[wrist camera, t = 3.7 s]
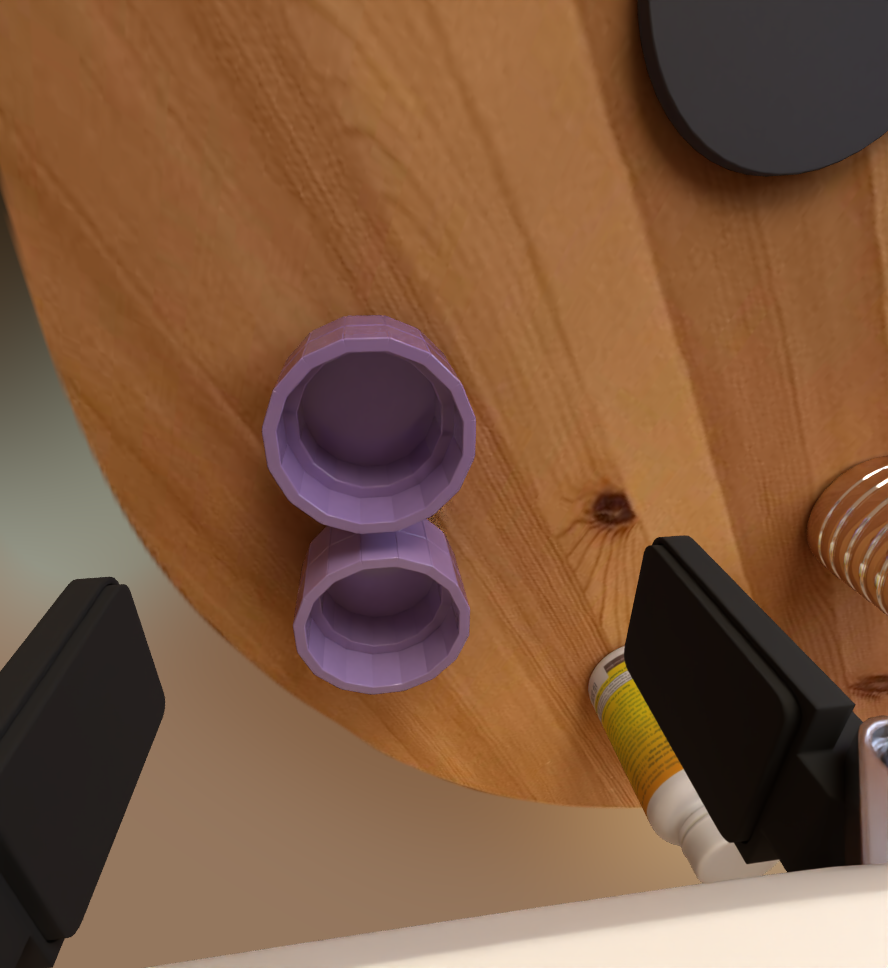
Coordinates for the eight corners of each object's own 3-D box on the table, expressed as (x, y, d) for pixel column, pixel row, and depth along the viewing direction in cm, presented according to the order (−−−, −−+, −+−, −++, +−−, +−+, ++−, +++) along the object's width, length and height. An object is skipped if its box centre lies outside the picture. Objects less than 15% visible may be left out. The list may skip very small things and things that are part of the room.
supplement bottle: (576, 710, 32) (662, 906, 23) (595, 638, 30) (700, 826, 21) (662, 704, 33) (778, 891, 24) (688, 634, 31) (828, 812, 22)
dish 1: (292, 483, 23) (278, 540, 19) (268, 314, 20) (247, 340, 16) (453, 473, 24) (472, 526, 20) (455, 310, 21) (479, 334, 17)
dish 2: (312, 628, 27) (304, 702, 23) (295, 505, 23) (282, 566, 19) (451, 615, 27) (467, 684, 23) (453, 495, 24) (471, 551, 20)
